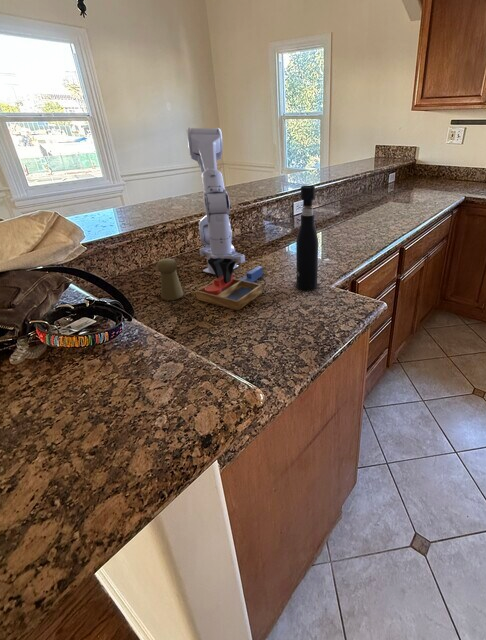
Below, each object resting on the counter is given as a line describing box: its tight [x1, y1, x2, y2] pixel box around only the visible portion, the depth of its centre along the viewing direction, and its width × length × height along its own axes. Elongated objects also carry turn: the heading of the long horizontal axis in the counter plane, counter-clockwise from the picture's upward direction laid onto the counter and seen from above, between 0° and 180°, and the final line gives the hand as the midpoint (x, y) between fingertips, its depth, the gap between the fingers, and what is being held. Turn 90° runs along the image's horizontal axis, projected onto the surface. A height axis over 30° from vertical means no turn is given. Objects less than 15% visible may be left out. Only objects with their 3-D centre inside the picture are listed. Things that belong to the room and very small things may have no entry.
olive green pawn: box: [156, 258, 184, 301], centre depth 100 cm, size 6×6×11 cm
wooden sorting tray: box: [195, 277, 264, 311], centre depth 102 cm, size 12×14×3 cm
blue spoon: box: [238, 265, 264, 283], centre depth 111 cm, size 10×4×3 cm, turn 154°
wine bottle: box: [295, 185, 319, 292], centre depth 102 cm, size 6×6×30 cm
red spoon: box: [205, 273, 234, 295], centre depth 102 cm, size 10×4×3 cm, turn 154°
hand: (224, 281), depth 104 cm, fingers closed on red spoon, 2 cm apart
